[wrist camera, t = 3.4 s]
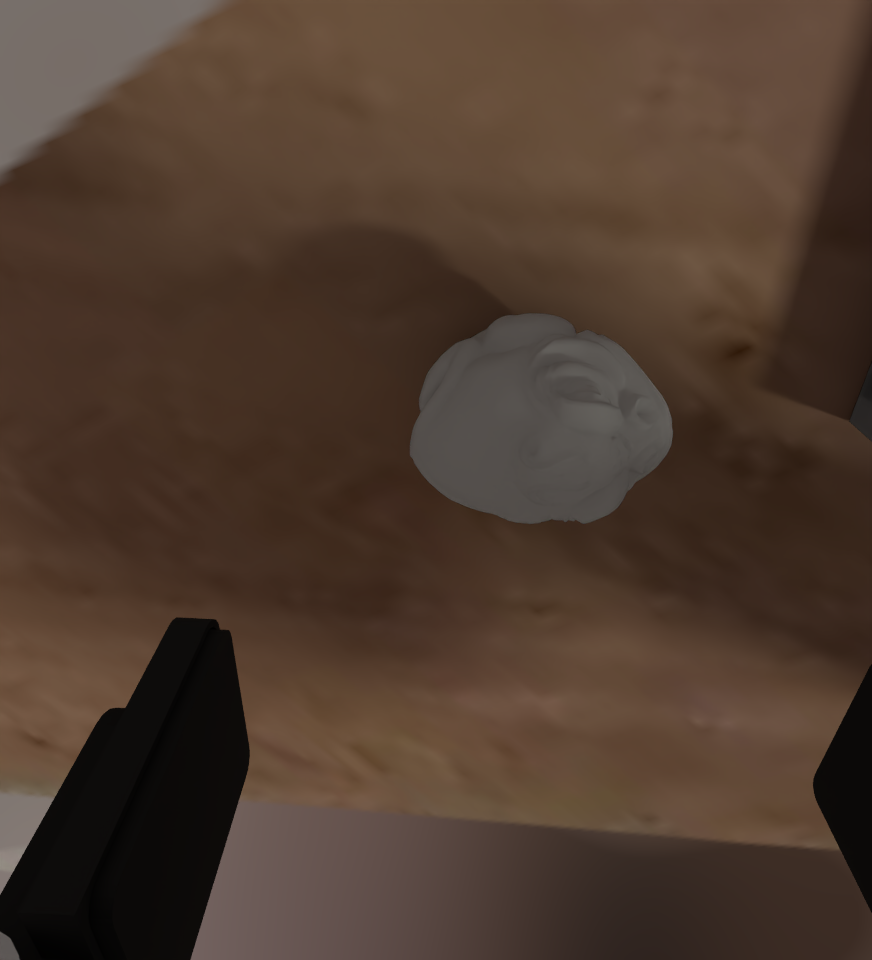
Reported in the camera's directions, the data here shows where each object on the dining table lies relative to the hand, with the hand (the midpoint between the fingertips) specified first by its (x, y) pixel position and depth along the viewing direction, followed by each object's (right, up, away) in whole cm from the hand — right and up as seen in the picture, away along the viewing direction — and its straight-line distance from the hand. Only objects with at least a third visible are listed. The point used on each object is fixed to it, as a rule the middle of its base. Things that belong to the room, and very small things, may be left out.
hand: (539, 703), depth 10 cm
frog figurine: (+1, +7, +12) cm, 14 cm away
